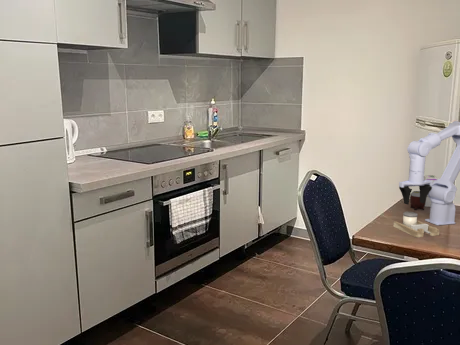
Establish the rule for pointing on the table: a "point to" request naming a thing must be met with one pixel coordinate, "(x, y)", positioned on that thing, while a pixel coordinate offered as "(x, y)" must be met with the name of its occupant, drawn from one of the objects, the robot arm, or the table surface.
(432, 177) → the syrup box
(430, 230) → the lane
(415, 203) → the mate gourd
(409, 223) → the jar
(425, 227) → the pusher
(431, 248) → the table surface
